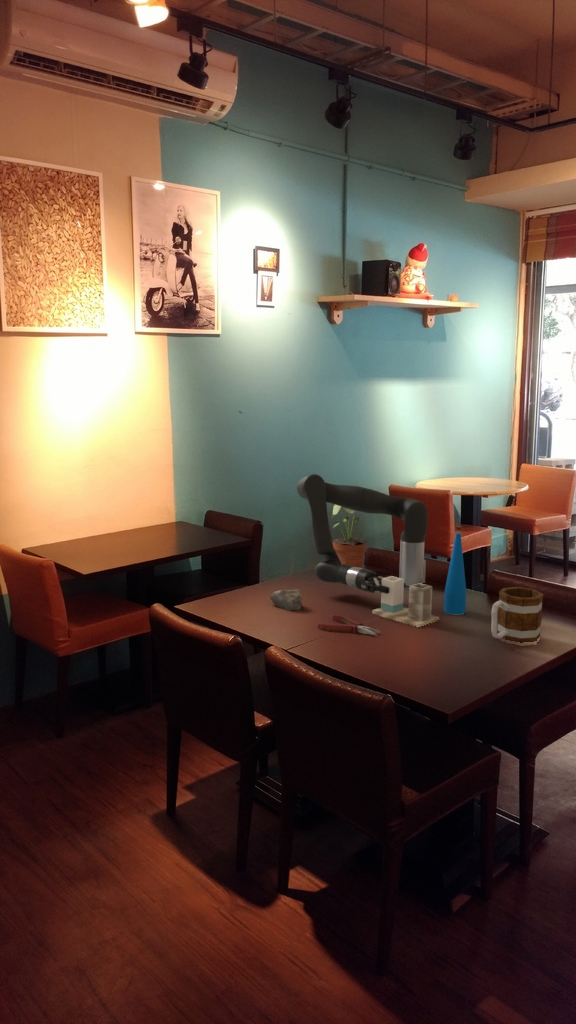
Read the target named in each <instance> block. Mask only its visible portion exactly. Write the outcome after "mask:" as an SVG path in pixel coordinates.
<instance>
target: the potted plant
mask: <svg viewBox="0 0 576 1024" xmlns="http://www.w3.org/2000/svg"><path fill="white" fill-rule="evenodd" d="M341 508H342V510H343V511H345V512H347V513H348V514H349V515H346V516H345V517H343V519H342V523H344V525H345V529H346V531H345V529H344V528H343V527H342V526H341V523H340V522H338V521H339V519H337V520H335V521H334V524H333V526H332V529H333V530H334V529H335V528H336V527H338V528H339V530H340V531H341V532H342V533H341V534H342V535H343V537H339V538H334V539H332V541H333V547H334V549H335V551H336V553H337V555H338V557H339V559H340V561H341V564H342V565H349V566H353V567H359V568H363V563H364V555H365V550H366V549H367V543H368V542H367V540H365V539H362V538H358V537H356V538H355V537H353V536H354V530H355V527H354V526H356V525H357V524H358V522H359V521H360V520H359V519H360V518H359V517H355V514H356V510H352V509H349V508H345V507H341V506H338V505H335V504H333V509H332V513H331V514H329V515H330V518H331V519H333V518H335V516H336V515H337V514H338V513H339V511H340V512H341V514H343V513H342V511H341ZM352 515H353V517H352V523H351V525H350V517H351V516H352ZM350 526H351V528H350ZM346 535H347V536H346Z"/></svg>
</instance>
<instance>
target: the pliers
mask: <svg viewBox="0 0 576 1024" xmlns="http://www.w3.org/2000/svg"><path fill="white" fill-rule="evenodd" d="M331 618H332V621H333V622H334V621H335V622H340V623H341V624H338V623H327V622H325V621H324V622H323V621H319V622H318V623H317V628H318V629H320V630H324V631H328V632H341V633H342V632H344V633H347V632H348V633H352V634H356V633H360V634H363V635H370V636H378V634H380V633H382V631H380V630H378V629H375V628H372V627H369V626H365V625H364V623H362V622H356V621H355V620H352V619H351V618H349V617H347V616H344V615H338V614H334V615H332V617H331ZM342 623H343V624H342Z"/></svg>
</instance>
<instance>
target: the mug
mask: <svg viewBox="0 0 576 1024" xmlns="http://www.w3.org/2000/svg"><path fill="white" fill-rule="evenodd" d="M544 595H545V594H544V593H542V592H540V591H539V590H537V589H533V588H529V587H527V588H526V587H521V586H514V587H513V586H512V587H511V586H510V587H503V588H502V589H500V590H499V591H498V600H497V601H495V602H494V603H493V604H492V606H491V607H492V608H491V623H490V624H491V626H490V628H491V629H490V631H491V635H492V637H493V638H495V639H497V638H498V640H499V639H500V638H503V639H505V640H510V641H515V642H520V643H523V642H534V641H537V639H538V638H539V637H540V638H541V625H542V619H543V615H542V613H543V611H542V610H543V599H544Z"/></svg>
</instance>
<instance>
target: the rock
mask: <svg viewBox="0 0 576 1024" xmlns="http://www.w3.org/2000/svg"><path fill="white" fill-rule="evenodd" d="M302 597H303V596H302V594H301V591H300V589H298V588H296V589H295V588H294V589H280V590H276V591H273V592H272V593H271V594H270V595H269V600H271V602H272V603H273V604H274V605H275V606H276V607H279V608H281V609H283V610H285V611H289V610H290V611H289V612H291V611H300V610H302V605H303V604H302V602H303V601H302V600H303V599H302Z"/></svg>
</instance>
